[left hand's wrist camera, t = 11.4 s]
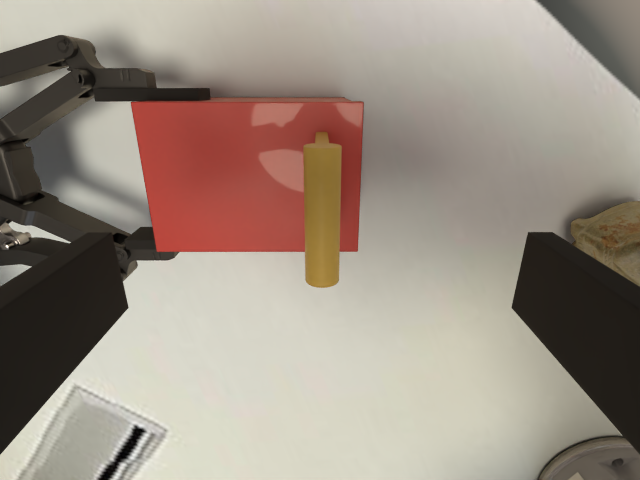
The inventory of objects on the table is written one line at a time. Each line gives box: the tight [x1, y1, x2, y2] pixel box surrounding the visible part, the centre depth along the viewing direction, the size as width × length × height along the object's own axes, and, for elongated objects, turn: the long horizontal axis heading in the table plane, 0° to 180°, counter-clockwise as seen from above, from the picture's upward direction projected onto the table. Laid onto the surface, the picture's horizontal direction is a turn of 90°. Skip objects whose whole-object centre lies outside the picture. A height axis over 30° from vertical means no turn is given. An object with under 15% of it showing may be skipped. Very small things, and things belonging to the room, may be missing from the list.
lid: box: [131, 101, 364, 288], centre depth 20 cm, size 13×9×9 cm
